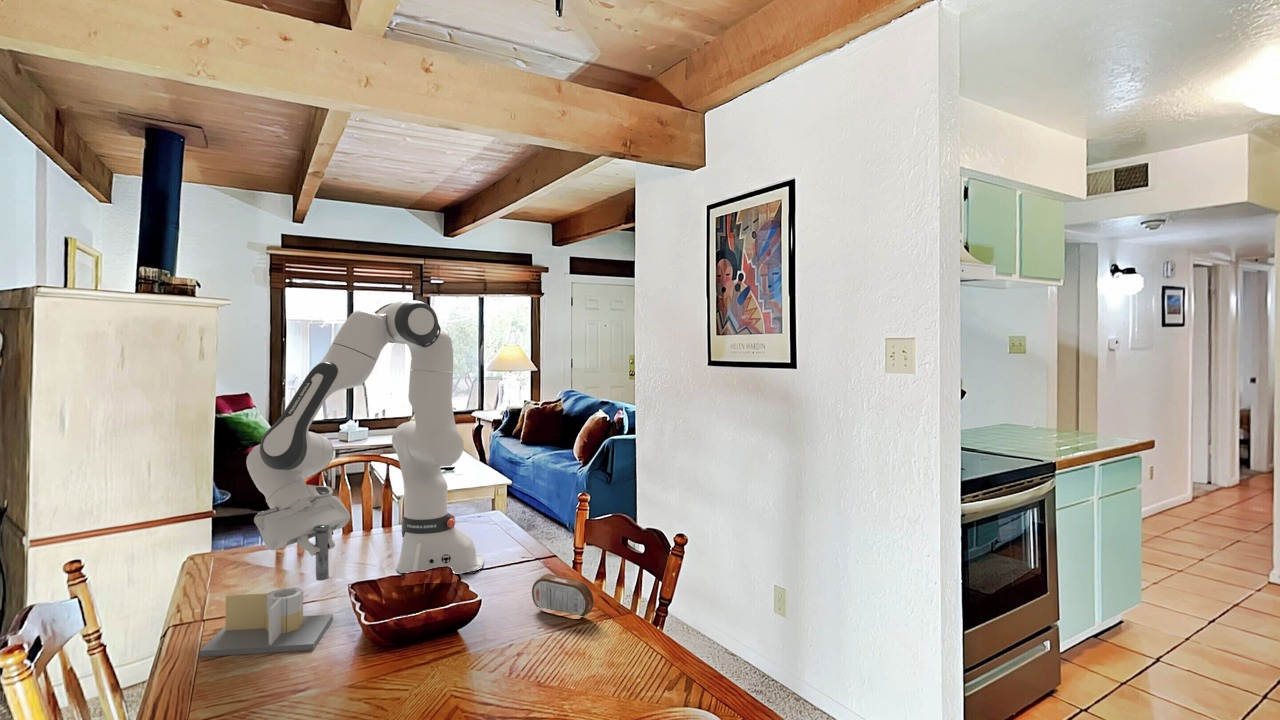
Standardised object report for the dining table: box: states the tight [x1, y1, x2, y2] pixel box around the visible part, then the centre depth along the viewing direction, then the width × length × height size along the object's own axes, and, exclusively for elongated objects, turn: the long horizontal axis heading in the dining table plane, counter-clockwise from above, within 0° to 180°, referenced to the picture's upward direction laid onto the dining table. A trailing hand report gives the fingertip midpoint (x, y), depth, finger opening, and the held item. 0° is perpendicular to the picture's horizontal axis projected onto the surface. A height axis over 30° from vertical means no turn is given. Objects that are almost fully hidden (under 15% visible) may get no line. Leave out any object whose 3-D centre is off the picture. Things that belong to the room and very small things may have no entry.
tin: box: [531, 573, 594, 617], centre depth 146 cm, size 15×3×8 cm, turn 65°
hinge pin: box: [314, 524, 330, 581], centre depth 148 cm, size 3×3×12 cm
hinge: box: [199, 586, 334, 658], centre depth 132 cm, size 20×14×8 cm
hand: (323, 550), depth 148 cm, fingers closed on hinge pin, 3 cm apart
